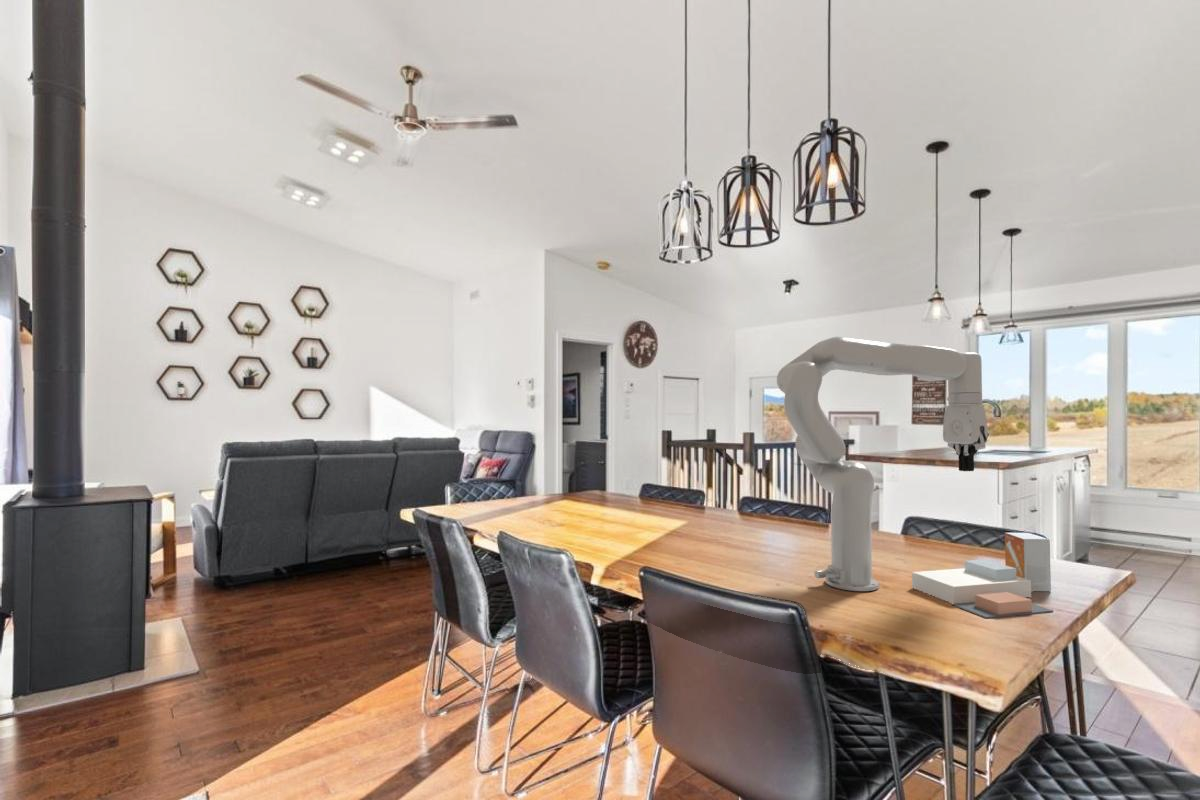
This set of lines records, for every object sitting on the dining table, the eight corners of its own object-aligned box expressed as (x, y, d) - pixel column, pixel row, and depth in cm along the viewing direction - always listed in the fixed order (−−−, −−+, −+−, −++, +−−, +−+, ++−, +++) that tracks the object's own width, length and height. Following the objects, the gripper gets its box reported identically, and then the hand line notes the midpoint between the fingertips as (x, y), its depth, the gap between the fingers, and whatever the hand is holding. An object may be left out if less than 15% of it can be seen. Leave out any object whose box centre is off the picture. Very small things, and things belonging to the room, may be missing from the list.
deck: (954, 604, 136) (953, 586, 136) (912, 588, 148) (911, 572, 149) (1031, 597, 141) (1030, 580, 141) (984, 582, 153) (984, 566, 154)
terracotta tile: (974, 594, 134) (975, 605, 134) (998, 603, 128) (998, 614, 128) (1007, 592, 136) (1007, 602, 136) (1031, 600, 130) (1032, 611, 130)
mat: (985, 618, 126) (985, 617, 126) (952, 605, 135) (952, 603, 135) (1053, 611, 130) (1053, 610, 130) (1016, 599, 139) (1016, 598, 139)
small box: (1005, 582, 153) (1004, 532, 154) (1030, 582, 153) (1029, 532, 153) (1024, 591, 145) (1023, 538, 146) (1051, 592, 145) (1050, 539, 145)
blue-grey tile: (1016, 578, 142) (1016, 568, 142) (995, 580, 141) (995, 569, 141) (984, 569, 151) (984, 559, 151) (964, 570, 150) (964, 560, 150)
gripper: (930, 401, 160) (931, 468, 159) (977, 399, 145) (978, 474, 145) (953, 401, 162) (955, 468, 161) (1002, 399, 147) (1003, 473, 147)
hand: (966, 470), depth 153 cm, fingers closed
